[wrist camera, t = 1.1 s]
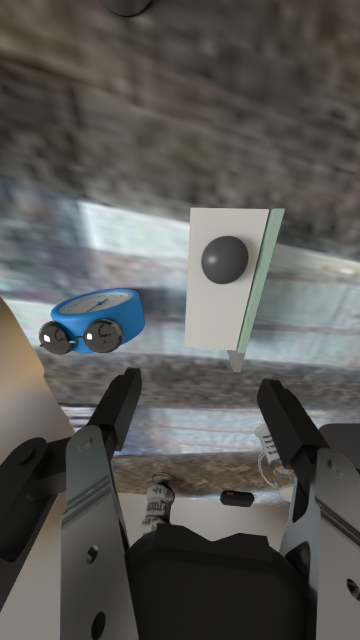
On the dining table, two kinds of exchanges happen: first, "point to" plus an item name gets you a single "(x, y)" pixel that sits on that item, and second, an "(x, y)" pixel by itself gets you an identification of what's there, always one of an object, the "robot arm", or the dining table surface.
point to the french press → (277, 469)
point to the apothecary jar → (158, 503)
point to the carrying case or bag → (237, 498)
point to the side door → (257, 286)
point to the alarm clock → (93, 322)
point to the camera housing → (220, 273)
